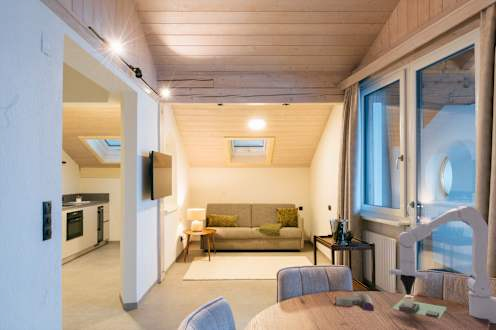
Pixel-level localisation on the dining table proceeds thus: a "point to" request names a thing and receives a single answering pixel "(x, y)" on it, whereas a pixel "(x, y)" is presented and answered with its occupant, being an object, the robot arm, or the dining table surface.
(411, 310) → the socket
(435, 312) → the circuit board
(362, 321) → the dining table surface
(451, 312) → the dining table surface
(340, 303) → the infrared thermometer
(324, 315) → the dining table surface
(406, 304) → the plug
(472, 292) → the robot arm
